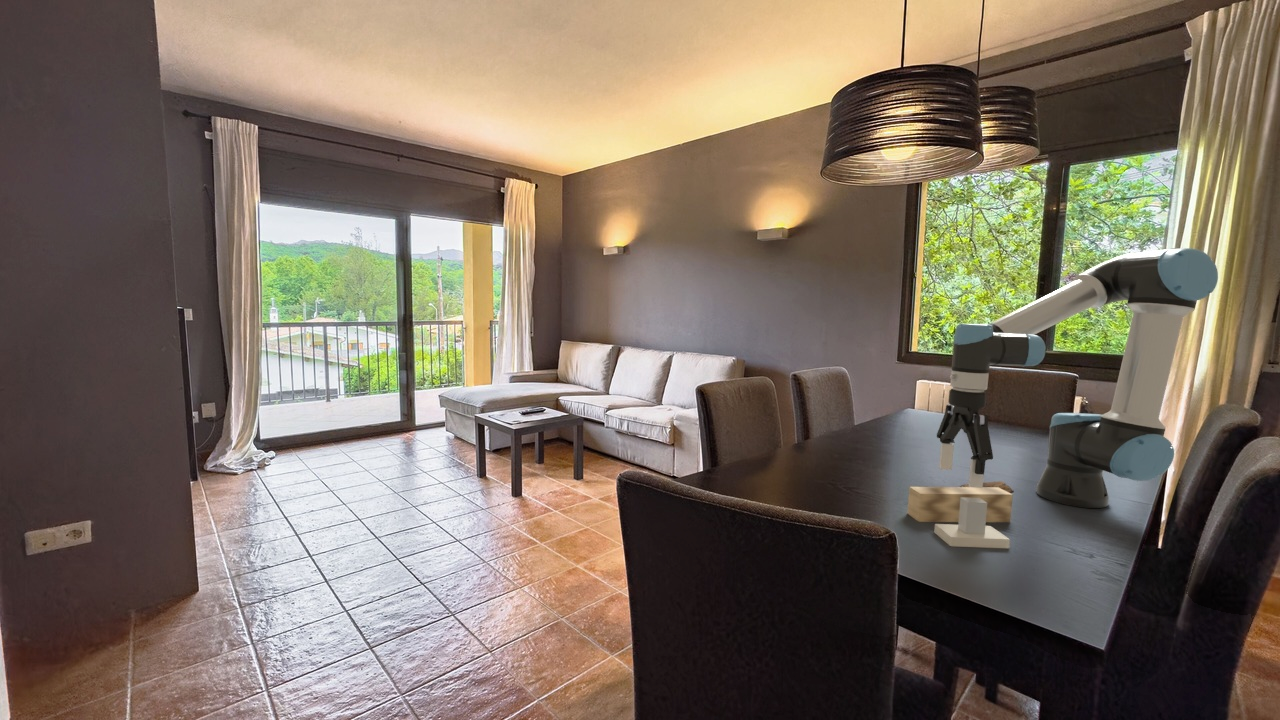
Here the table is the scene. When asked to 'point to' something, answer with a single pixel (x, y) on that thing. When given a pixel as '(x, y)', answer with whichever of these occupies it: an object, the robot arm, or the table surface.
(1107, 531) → the table surface
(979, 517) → the stand
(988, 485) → the wooden fragment
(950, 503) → the batten
